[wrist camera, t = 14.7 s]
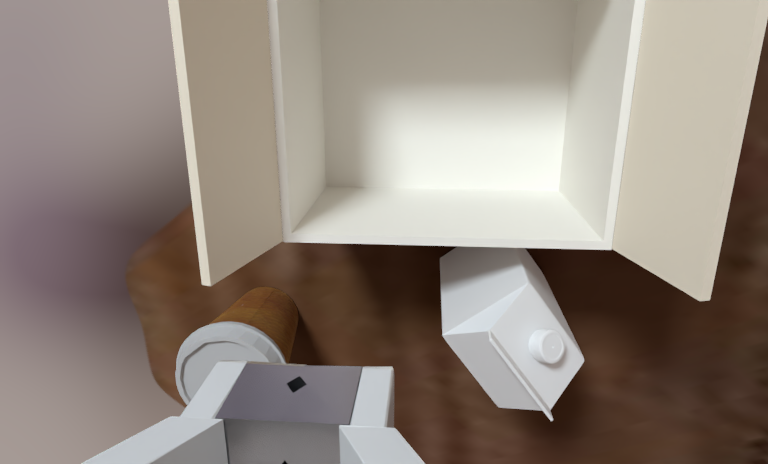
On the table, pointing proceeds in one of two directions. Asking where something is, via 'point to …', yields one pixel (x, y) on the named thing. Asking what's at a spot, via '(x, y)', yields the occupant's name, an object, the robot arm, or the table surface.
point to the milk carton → (507, 326)
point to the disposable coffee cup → (239, 337)
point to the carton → (452, 120)
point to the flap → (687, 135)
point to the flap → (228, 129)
